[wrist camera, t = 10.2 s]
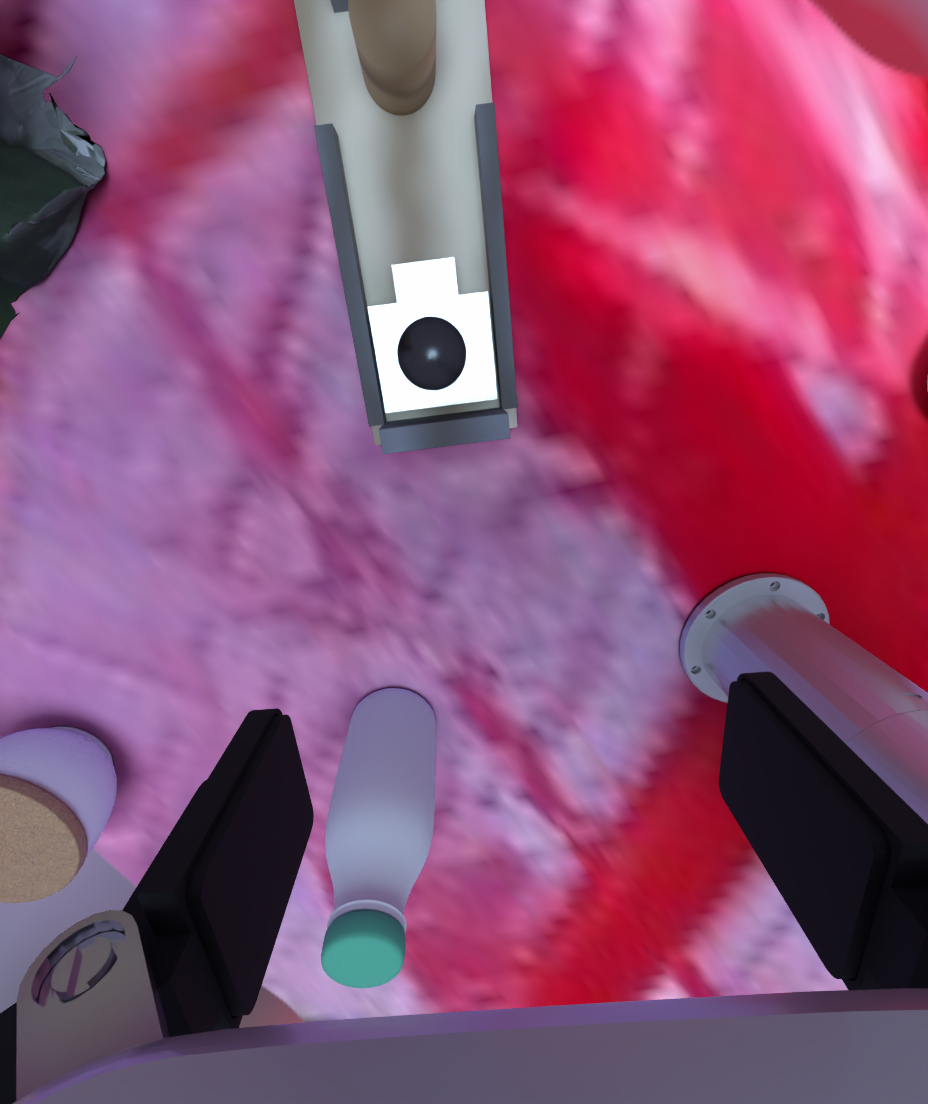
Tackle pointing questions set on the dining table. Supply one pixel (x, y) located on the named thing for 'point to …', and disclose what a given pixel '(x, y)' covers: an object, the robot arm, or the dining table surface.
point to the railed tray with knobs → (414, 202)
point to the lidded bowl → (50, 808)
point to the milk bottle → (378, 834)
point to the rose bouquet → (38, 180)
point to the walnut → (396, 51)
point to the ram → (433, 340)
